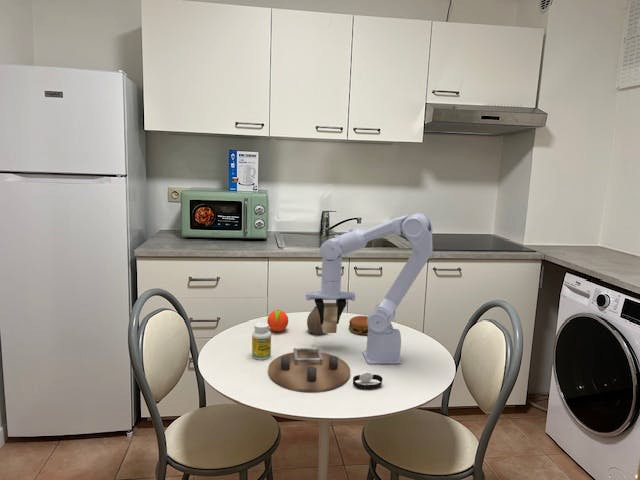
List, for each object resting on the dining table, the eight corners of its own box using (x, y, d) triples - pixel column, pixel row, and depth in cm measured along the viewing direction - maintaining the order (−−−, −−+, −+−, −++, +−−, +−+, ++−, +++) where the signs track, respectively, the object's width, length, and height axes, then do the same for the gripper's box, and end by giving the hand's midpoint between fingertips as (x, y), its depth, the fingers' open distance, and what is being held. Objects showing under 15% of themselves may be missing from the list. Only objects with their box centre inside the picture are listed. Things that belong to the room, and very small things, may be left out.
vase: (327, 337, 150) (328, 311, 149) (306, 336, 150) (307, 310, 149) (327, 329, 157) (328, 304, 156) (307, 328, 157) (308, 303, 156)
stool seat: (343, 354, 138) (343, 341, 137) (356, 391, 116) (357, 376, 116) (268, 354, 135) (268, 341, 135) (268, 393, 114) (268, 378, 113)
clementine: (287, 336, 149) (287, 315, 148) (265, 335, 149) (265, 314, 148) (288, 327, 157) (289, 307, 156) (268, 326, 157) (268, 306, 156)
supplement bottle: (265, 351, 138) (266, 320, 136) (273, 358, 134) (274, 326, 132) (248, 354, 135) (249, 323, 133) (256, 361, 131) (257, 329, 129)
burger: (343, 327, 160) (344, 314, 159) (368, 324, 163) (369, 312, 162) (356, 338, 151) (357, 324, 150) (382, 335, 154) (383, 322, 153)
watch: (379, 381, 123) (380, 368, 122) (384, 390, 118) (385, 377, 117) (350, 382, 121) (351, 369, 121) (354, 391, 117) (355, 378, 116)
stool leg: (334, 328, 142) (335, 302, 141) (336, 333, 139) (337, 307, 137) (321, 328, 142) (322, 302, 141) (323, 333, 138) (324, 307, 137)
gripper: (353, 275, 142) (350, 318, 145) (305, 275, 140) (304, 318, 143) (357, 282, 135) (354, 326, 138) (307, 281, 134) (305, 326, 136)
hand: (329, 322), depth 140 cm, fingers closed on stool leg, 4 cm apart
